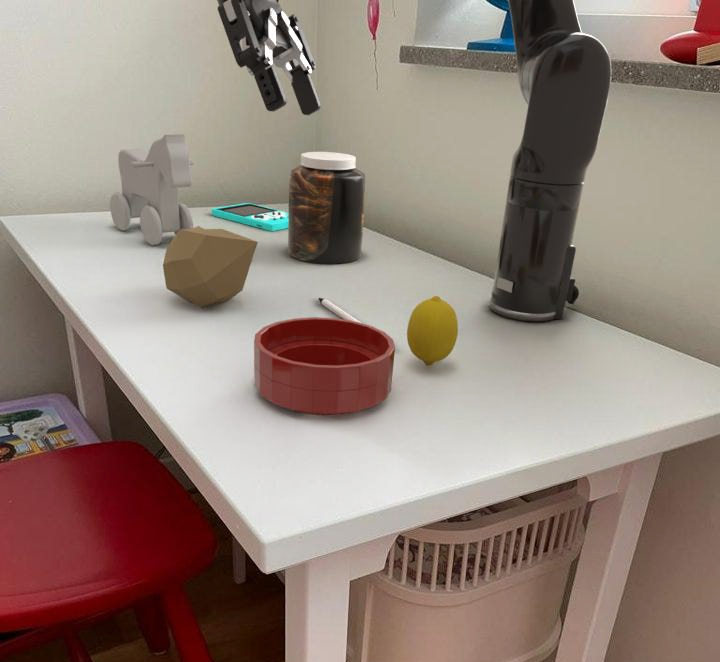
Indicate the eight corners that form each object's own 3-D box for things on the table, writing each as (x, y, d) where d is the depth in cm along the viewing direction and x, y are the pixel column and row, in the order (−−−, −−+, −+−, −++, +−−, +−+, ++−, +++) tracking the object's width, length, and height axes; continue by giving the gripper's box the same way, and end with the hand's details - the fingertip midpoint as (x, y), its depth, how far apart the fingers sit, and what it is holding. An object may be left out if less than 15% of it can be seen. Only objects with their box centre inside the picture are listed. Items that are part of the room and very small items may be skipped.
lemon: (426, 353, 90) (434, 285, 86) (463, 368, 87) (472, 298, 83) (393, 363, 87) (399, 293, 83) (430, 379, 83) (438, 307, 79)
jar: (342, 268, 119) (347, 165, 111) (275, 256, 122) (276, 155, 115) (371, 252, 128) (378, 156, 121) (308, 241, 132) (311, 147, 124)
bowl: (384, 367, 85) (388, 320, 83) (395, 423, 74) (401, 370, 71) (259, 363, 84) (258, 314, 82) (250, 419, 72) (249, 364, 70)
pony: (214, 247, 125) (210, 134, 116) (156, 255, 119) (147, 137, 110) (156, 221, 138) (148, 118, 129) (100, 227, 132) (89, 119, 123)
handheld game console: (270, 231, 136) (270, 223, 136) (209, 215, 145) (209, 207, 144) (308, 223, 143) (308, 216, 143) (248, 208, 152) (248, 201, 151)
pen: (387, 351, 90) (388, 341, 89) (315, 301, 104) (316, 293, 104) (393, 350, 90) (394, 341, 90) (321, 301, 104) (321, 293, 104)
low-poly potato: (236, 324, 95) (289, 265, 100) (184, 250, 89) (244, 192, 94) (171, 324, 106) (222, 271, 110) (120, 258, 99) (176, 205, 104)
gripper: (230, -87, 72) (295, 90, 76) (297, -53, 84) (350, 98, 88) (170, -44, 75) (235, 123, 79) (242, -17, 88) (296, 127, 91)
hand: (296, 110), depth 83 cm, fingers open, 8 cm apart
